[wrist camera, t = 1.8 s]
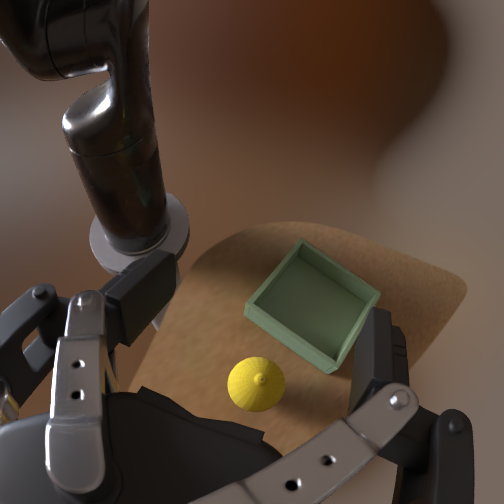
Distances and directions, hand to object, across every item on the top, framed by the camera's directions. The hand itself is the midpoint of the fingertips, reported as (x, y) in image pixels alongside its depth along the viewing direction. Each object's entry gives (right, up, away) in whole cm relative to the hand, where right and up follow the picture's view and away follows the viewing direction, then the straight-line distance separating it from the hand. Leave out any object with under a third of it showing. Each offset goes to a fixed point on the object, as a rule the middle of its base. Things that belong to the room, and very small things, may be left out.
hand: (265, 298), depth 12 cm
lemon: (-1, -13, +20) cm, 24 cm away
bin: (+7, -5, +26) cm, 27 cm away
